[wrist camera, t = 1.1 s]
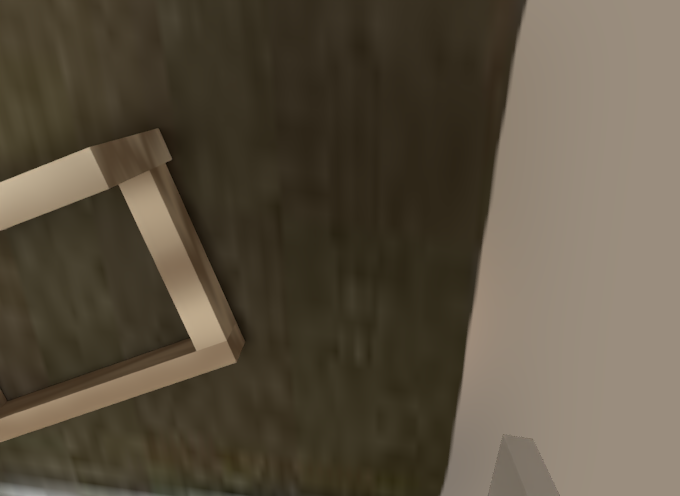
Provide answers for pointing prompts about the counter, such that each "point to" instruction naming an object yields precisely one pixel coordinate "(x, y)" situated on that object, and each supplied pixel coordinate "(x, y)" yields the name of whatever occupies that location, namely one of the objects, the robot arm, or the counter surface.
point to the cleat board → (170, 258)
